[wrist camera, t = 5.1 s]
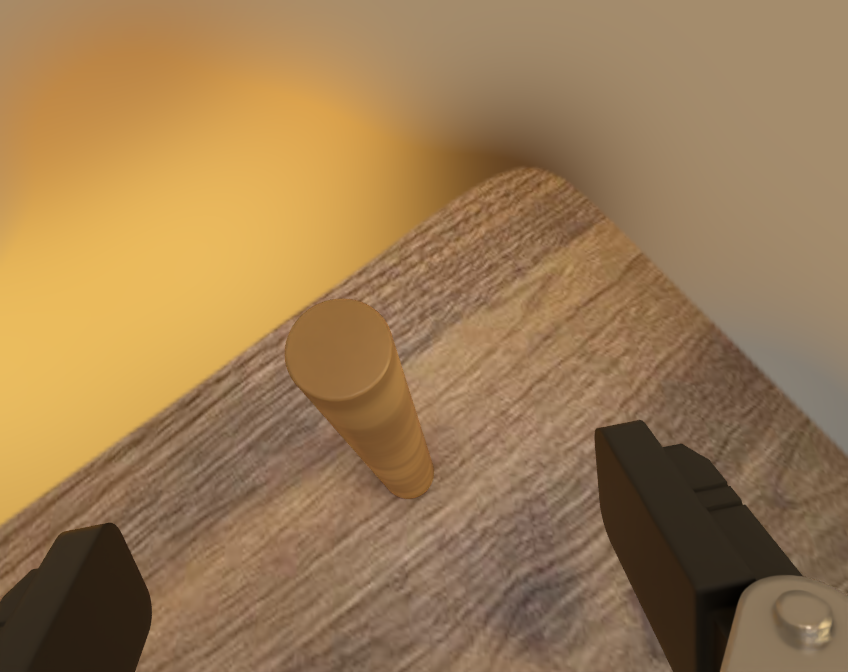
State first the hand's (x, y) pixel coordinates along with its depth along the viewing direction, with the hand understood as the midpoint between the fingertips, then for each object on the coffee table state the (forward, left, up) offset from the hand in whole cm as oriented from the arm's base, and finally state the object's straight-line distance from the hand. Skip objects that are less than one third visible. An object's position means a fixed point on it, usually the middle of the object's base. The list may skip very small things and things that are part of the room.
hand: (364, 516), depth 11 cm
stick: (0, -3, -15) cm, 15 cm away
